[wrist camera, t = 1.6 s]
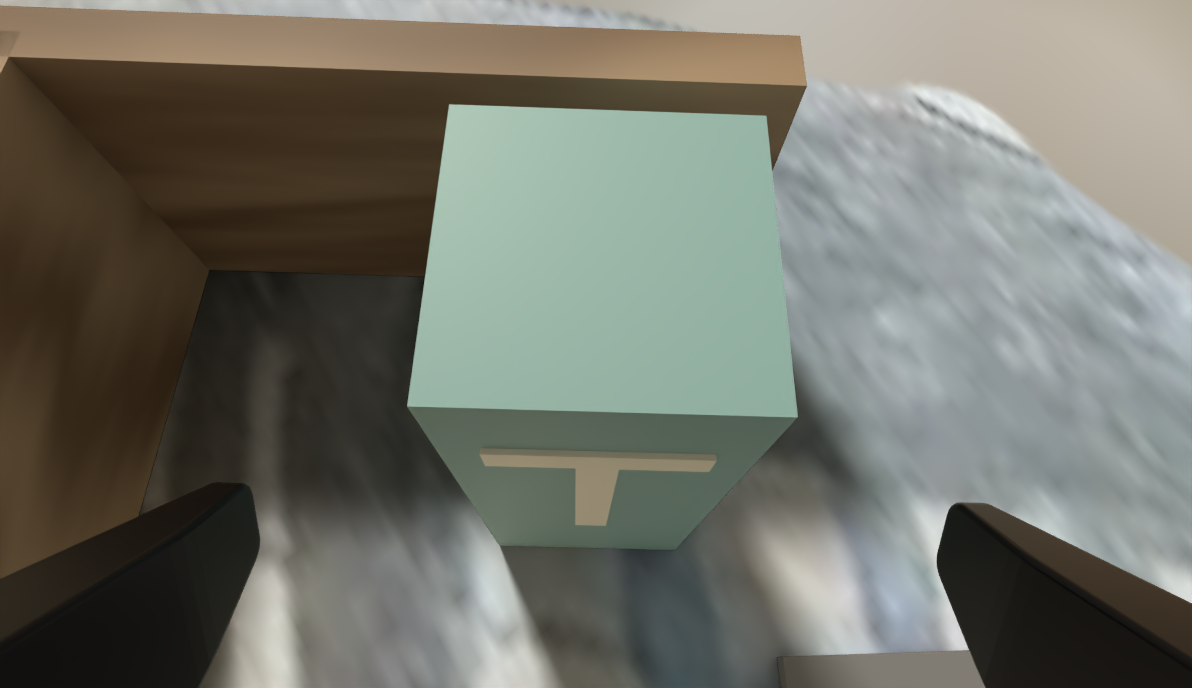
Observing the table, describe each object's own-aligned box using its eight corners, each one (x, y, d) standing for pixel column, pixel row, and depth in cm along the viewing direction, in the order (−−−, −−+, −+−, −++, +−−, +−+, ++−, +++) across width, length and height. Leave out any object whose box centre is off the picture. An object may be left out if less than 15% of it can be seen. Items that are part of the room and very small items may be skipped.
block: (675, 553, 20) (798, 425, 9) (499, 549, 20) (406, 414, 9) (670, 386, 22) (766, 115, 11) (511, 381, 22) (449, 104, 11)
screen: (746, 611, 19) (875, 576, 11) (59, 594, 19) (-336, 546, 11) (723, 247, 24) (799, 35, 16) (175, 230, 24) (-35, 4, 16)
